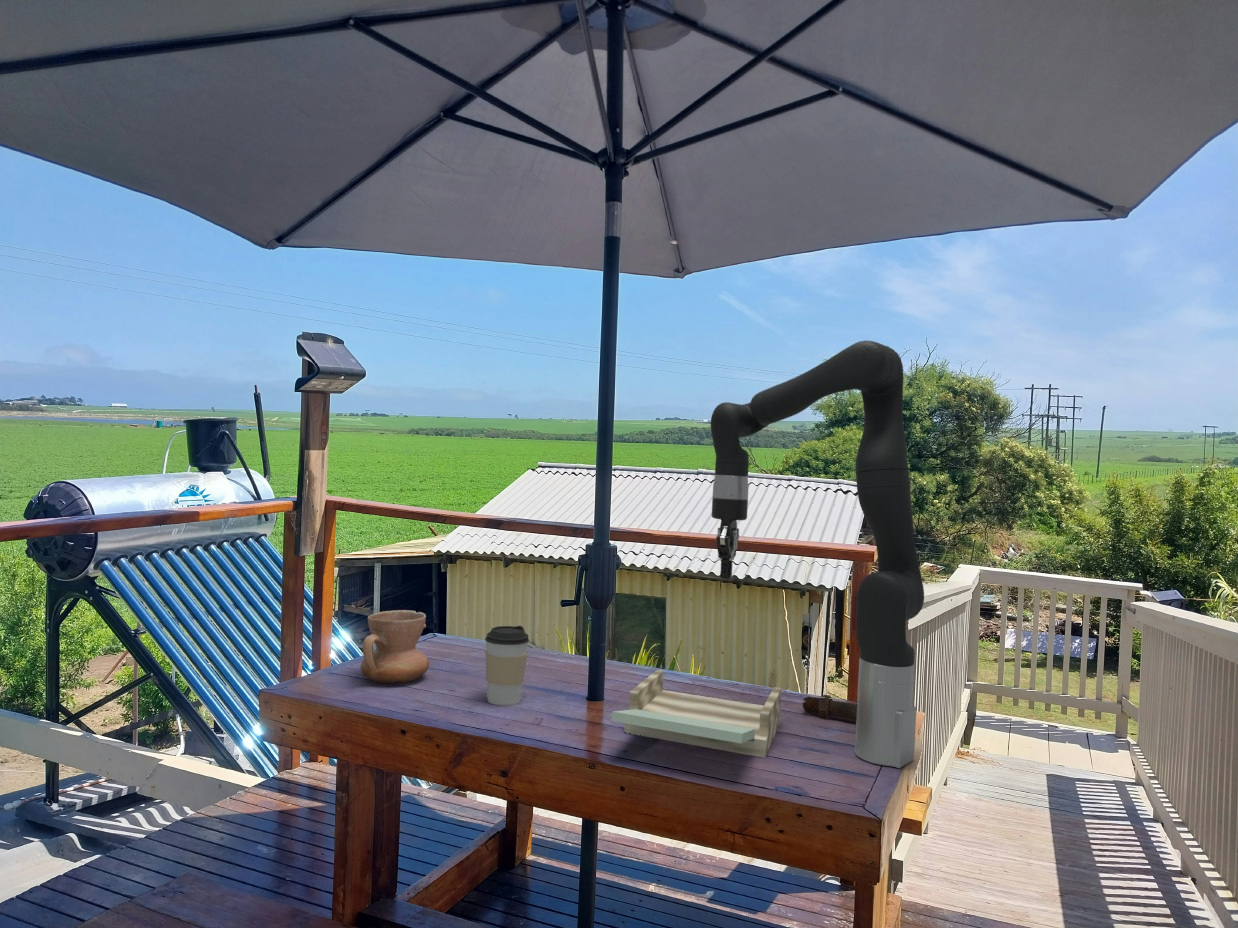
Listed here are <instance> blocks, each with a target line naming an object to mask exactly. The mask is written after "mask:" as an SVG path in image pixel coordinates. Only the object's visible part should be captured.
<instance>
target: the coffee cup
mask: <svg viewBox="0 0 1238 928" xmlns="http://www.w3.org/2000/svg"><path fill="white" fill-rule="evenodd" d="M484 640H485V644H486V645H485V646H486V650H485V674H486V675H485V676H486V679H485V681H486V692H487V693H486V694H487V695H486V698H487V703H489V704H492V705H494V706H495V705H496V706H515V705H517V704H519V703H520V702H521V700H522V699H521V698H522V691H523V683H524V680H525V673H526V666H527V658H528V645H529V642H530V639H529V635H528V634H527V633H526V631H525V628H524V627H523V626H522V625H516V626H512V625H511V626H510V625H502V626H501V625H500V626H494V627H492V628H491V630H490V631H489V632H487V634H486V637H485V638H484Z"/></svg>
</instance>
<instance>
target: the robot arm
mask: <svg viewBox="0 0 1238 928" xmlns="http://www.w3.org/2000/svg"><path fill="white" fill-rule="evenodd" d="M903 366H904V365H903V361H902V359H901V357H900V355H899V354H898V352H897V351H895V350H894V349H893V348H891V347H890V346H888V345H885V344H882V343H880V342H877V341H873V340H859V341H857V342H854V343H853V344H851V345H850V346H849V345H848V347H846V348H844V349H842V350H841V351H839V352H838V353H836V354H834V355H833V356H832V357H829V358H828V359H827V360H824V361H823V362H821V363H819V364H818V365H817V366H815V367H813V368H811V369H809V370H807V371H806V372H803V373H801V374H799V375H797V376H795V377H794V378H791V379H787V380H786V381H784V382H783V381H782V382H781V383H779V384H776V385H773V386H772V387H768V388H766V389H764V390H762V391H760V392H757V393H756V394H755V395H753V397H752V398H751V400H750V402H748V403H745V404H744V403H743V404H739V403H735V402H727V401H726V402H722V403H719V404H718V405H717V406H715V408H714V410H713V411H712V414H711V417H710V430H711V437H712V442H713V449H714V452H715V464H714V479H713V485H712V499H711V500H712V501H711V518H713V519H715V520H720V526H719V527H718V528H717V535H716V537H715V540H716V546H717V557H718V559H719V560H720V573H719V574H720V576H719V577H720V578H721V579H724V580H726V579H727V580H729V579H731V578H732V576H733V563H734V562H733V561H734V559H735V557H736V556H737V549H738V543H739V538H740V528H738V521H746V520H747V519H748V505H749V477H748V476H749V465H750V464H749V463H750V455H749V452H748V451H747V450H745V449H744V448H742V446H741V444H740V443H741V442H740V438H744V437H745V438H746V437H749V436H752V435H754V434H757V433H759V432H760V431H762V430H763V429H765V428H766V427H768V426H769V425H772V424H775V423H777V422H780V421H783V420H785V419H788V418H791V417H793V416H796V415H798V414H800V413H802V412H803V411H805V410H807V409H808V408H809V407H810V406H812V405H814V404H815V403H816V402H818V401H820V400H821V399H823V398H825V397H828V396H830V395H833V394H837V393H840V392H841V393H842V392H847V391H851V390H857V391H859V392H860V393H861V399H862V405H863V413H864V414H863V415H864V424H863V431H862V435H861V439H860V442H859V446H858V449H857V453H856V459H855V477H856V478H855V479H856V491H857V498H858V502H859V507H860V508H861V510H862V514H863V515H864V518H865V521H866V522H867V524H868V526H869V528H870V531H871V533H872V535H873V539H874V542H875V546H876V552H877V571H875V572H871V573H869V574H867V575H866V576H865V577H864V578H863V579H862V580H861V582H860V584H859V586H858V588H857V592H856V602H855V621H856V622H855V637H856V641H857V645H858V647H859V659H858V660H859V662H858V677H857V678H858V679H857V682H858V683H857V696H856V697H857V700H856V701H857V702H856V704H857V717H856V720H855V737H854V738H855V739H854V754H855V755H856V756H857V757H858V758H860V759H862V760H864V761H865V762H869V763H872V764H876V765H880V766H887V767H892V768H893V767H895V768H897V769H901V768H902V767H904V766H906V765H908V764H910V763H911V762H913V761H915V743H916V724H917V722H916V721H917V707H916V706H915V705H913V691H914V690H913V689H914V675H915V674H914V673H915V672H914V670H915V668H914V667H915V654H916V653H915V650H914V647H913V646H912V645H911V644H909V643H908V641H907V635H906V634H907V632H906V631H907V630H906V629H907V628H906V625H907V621H910V620H911V619H914V618H915V617H917V616H918V615H919V613H920V612H921V610H922V608H923V606H924V602H925V589H924V583H923V578H922V577H923V576H922V574H921V569H920V563H919V558H918V554H917V547H916V542H915V531H914V529H915V528H914V519H913V517H914V516H913V507H912V497H911V496H912V495H911V494H912V493H911V492H912V491H911V481H910V479H911V478H910V471H909V461H908V454H907V442H906V441H907V440H906V433H905V426H904V425H905V424H904V415H903V414H904V410H903V409H904V407H903V406H904V404H903V402H904V367H903Z"/></svg>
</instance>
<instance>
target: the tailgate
mask: <svg viewBox="0 0 1238 928" xmlns="http://www.w3.org/2000/svg"><path fill="white" fill-rule="evenodd" d="M610 720H611V722H616V723H621V724H625V723H626V724H632V725H638V726H644V727H649V728H655V729H661V730H667V731H672V732H678V733H684V734H690V735H695V736H701V737H707V738H713V739H718V740H724V741H730V742H736V743H741V744H742V743H744V742H746V741H751V742H754V736H755V729H752V728H746V727H740V726H734V725H728V724H722V723H716V722H710V721H704V720H698V719H692V718H686V717H680V716H674V715H668V714H662V713H656V712H650V711H644V710H638V709H634V710H629V709H625V710H615V711H612V712H611V719H610Z"/></svg>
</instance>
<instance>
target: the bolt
mask: <svg viewBox="0 0 1238 928" xmlns="http://www.w3.org/2000/svg"><path fill="white" fill-rule="evenodd" d="M821 697H825V698H821ZM829 698H832V699H829ZM802 708H803V710H804V711H805V712H807V713H813V714H818V715H819V717H820V718H821V719H825V718H829V719H831V717H836V718H842V719H845V720H847V719H848V720H852V721H856V717H857V703H852V702H845V701H840V700H833V697H832V696H831V695H829V694H823V695H821V696H820V697H816V696H815V697H814V696H806V697H803V702H802ZM830 716H831V717H830Z"/></svg>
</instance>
